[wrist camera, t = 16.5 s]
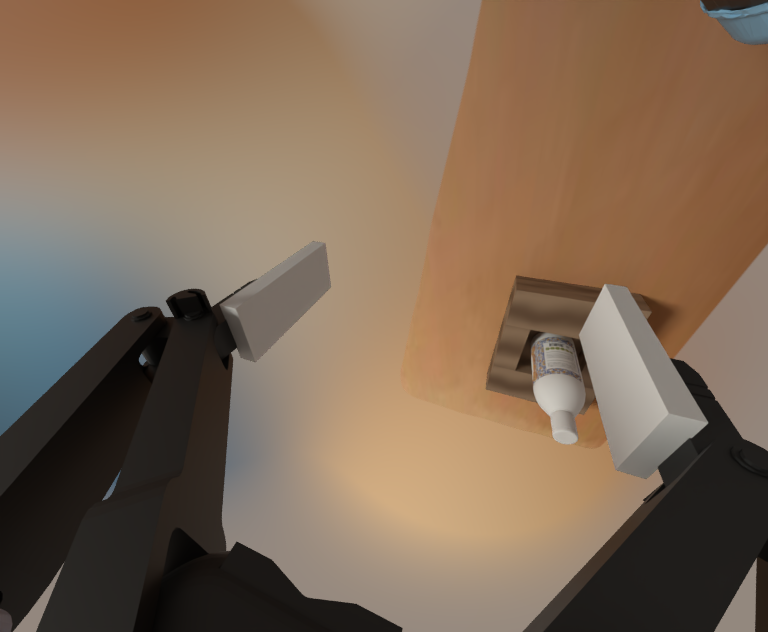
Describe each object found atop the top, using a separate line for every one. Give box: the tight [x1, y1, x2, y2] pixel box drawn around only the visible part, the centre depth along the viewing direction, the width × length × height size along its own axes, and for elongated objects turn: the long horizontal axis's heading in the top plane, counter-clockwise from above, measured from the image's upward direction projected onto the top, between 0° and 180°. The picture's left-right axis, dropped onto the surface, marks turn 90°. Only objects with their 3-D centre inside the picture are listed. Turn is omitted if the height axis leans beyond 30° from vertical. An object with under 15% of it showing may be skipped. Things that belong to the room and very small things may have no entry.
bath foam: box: [531, 332, 586, 444], centre depth 46 cm, size 7×7×20 cm
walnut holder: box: [486, 276, 652, 415], centre depth 53 cm, size 24×18×5 cm
